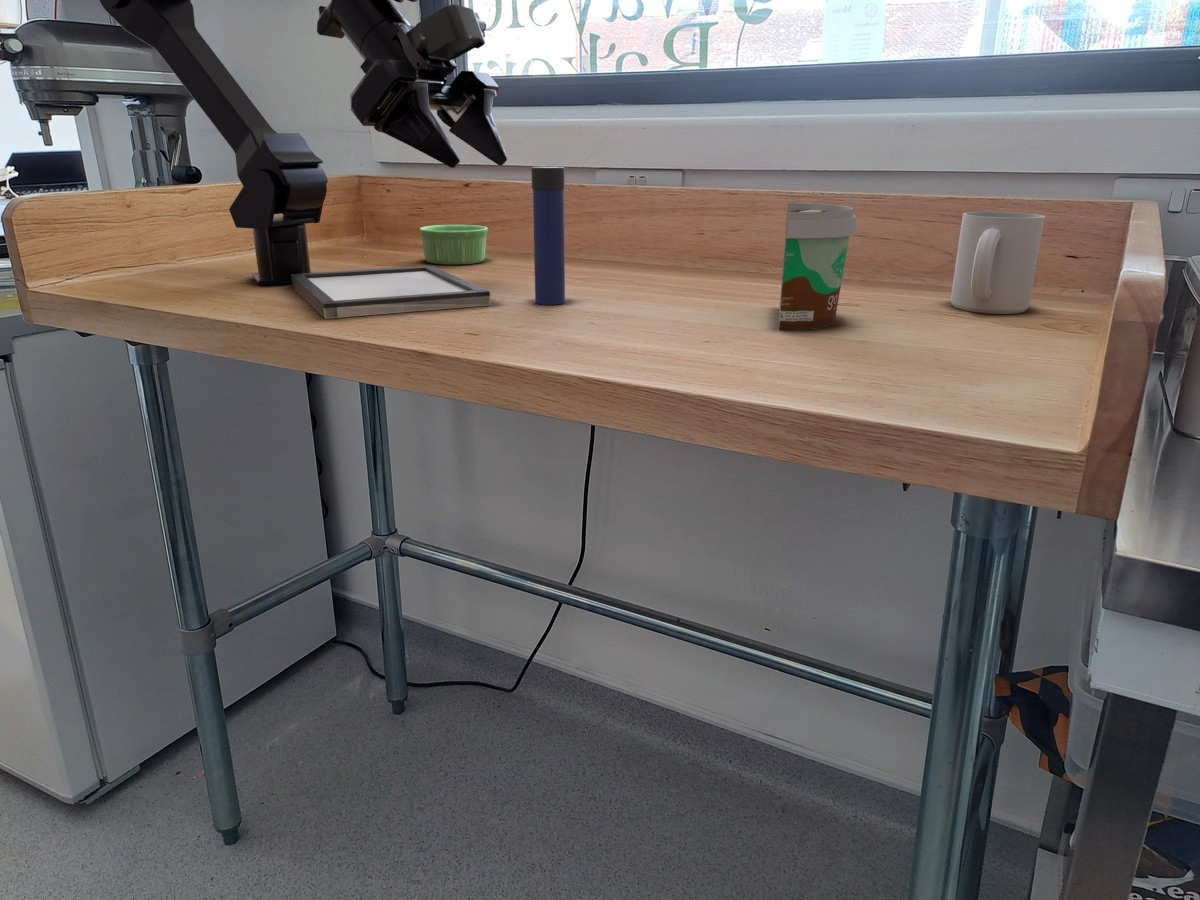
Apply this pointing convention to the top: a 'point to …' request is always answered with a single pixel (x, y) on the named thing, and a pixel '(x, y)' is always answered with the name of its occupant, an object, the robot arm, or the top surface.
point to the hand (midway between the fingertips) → (481, 163)
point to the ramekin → (454, 244)
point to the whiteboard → (386, 291)
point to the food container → (813, 264)
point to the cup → (996, 261)
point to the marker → (549, 234)
